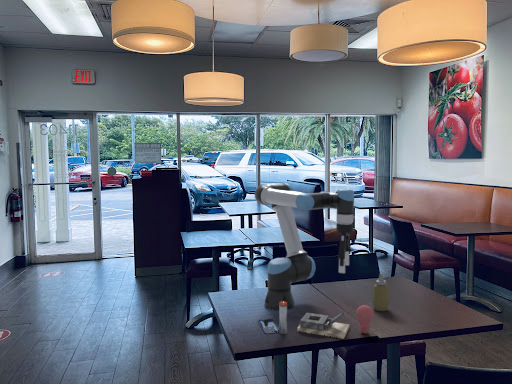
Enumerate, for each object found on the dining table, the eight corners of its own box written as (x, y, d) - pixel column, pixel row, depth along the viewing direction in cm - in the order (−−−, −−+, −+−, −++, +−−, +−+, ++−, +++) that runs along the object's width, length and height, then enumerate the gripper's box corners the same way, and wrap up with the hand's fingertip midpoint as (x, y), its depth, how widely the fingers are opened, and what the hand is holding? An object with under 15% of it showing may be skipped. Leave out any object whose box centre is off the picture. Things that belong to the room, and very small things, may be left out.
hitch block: (297, 331, 177) (297, 321, 177) (305, 321, 188) (305, 311, 188) (343, 338, 169) (344, 328, 169) (349, 327, 180) (349, 317, 180)
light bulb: (370, 329, 178) (370, 302, 177) (375, 336, 171) (376, 308, 170) (354, 329, 178) (354, 302, 177) (358, 336, 171) (359, 308, 170)
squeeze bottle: (390, 313, 197) (390, 276, 196) (372, 311, 199) (373, 275, 197) (388, 307, 205) (388, 271, 204) (371, 306, 207) (371, 270, 205)
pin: (278, 333, 174) (278, 302, 173) (280, 330, 177) (280, 300, 176) (285, 335, 173) (285, 303, 172) (287, 332, 176) (287, 301, 175)
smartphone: (265, 333, 174) (257, 319, 189) (264, 335, 174) (257, 321, 189) (281, 332, 176) (273, 318, 190) (281, 334, 176) (273, 320, 190)
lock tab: (326, 328, 175) (324, 325, 176) (329, 324, 180) (327, 321, 180) (342, 318, 172) (340, 315, 173) (344, 313, 177) (342, 311, 177)
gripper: (349, 228, 174) (348, 277, 176) (356, 219, 198) (355, 262, 200) (332, 227, 177) (331, 275, 179) (340, 218, 200) (339, 261, 202)
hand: (343, 268), depth 189 cm, fingers open, 13 cm apart
